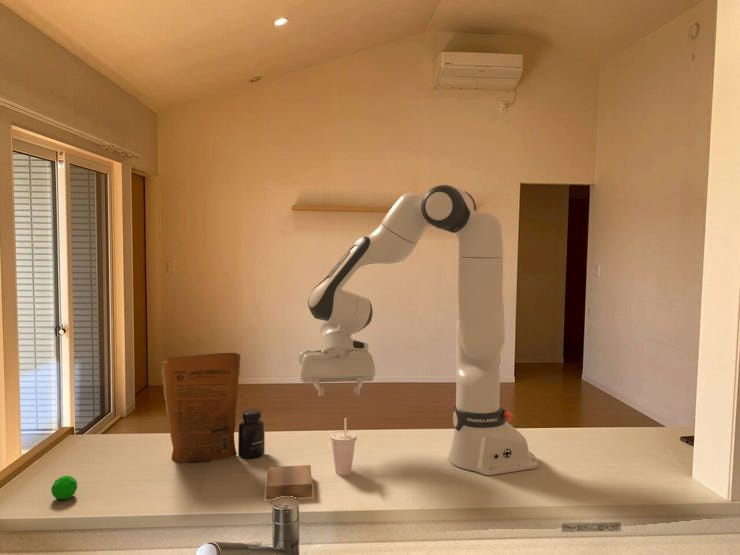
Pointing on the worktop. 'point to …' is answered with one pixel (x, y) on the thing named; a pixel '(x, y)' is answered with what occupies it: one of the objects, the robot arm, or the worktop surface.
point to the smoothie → (343, 450)
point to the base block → (289, 481)
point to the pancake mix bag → (201, 405)
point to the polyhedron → (64, 487)
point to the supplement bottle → (251, 435)
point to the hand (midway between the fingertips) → (339, 394)
